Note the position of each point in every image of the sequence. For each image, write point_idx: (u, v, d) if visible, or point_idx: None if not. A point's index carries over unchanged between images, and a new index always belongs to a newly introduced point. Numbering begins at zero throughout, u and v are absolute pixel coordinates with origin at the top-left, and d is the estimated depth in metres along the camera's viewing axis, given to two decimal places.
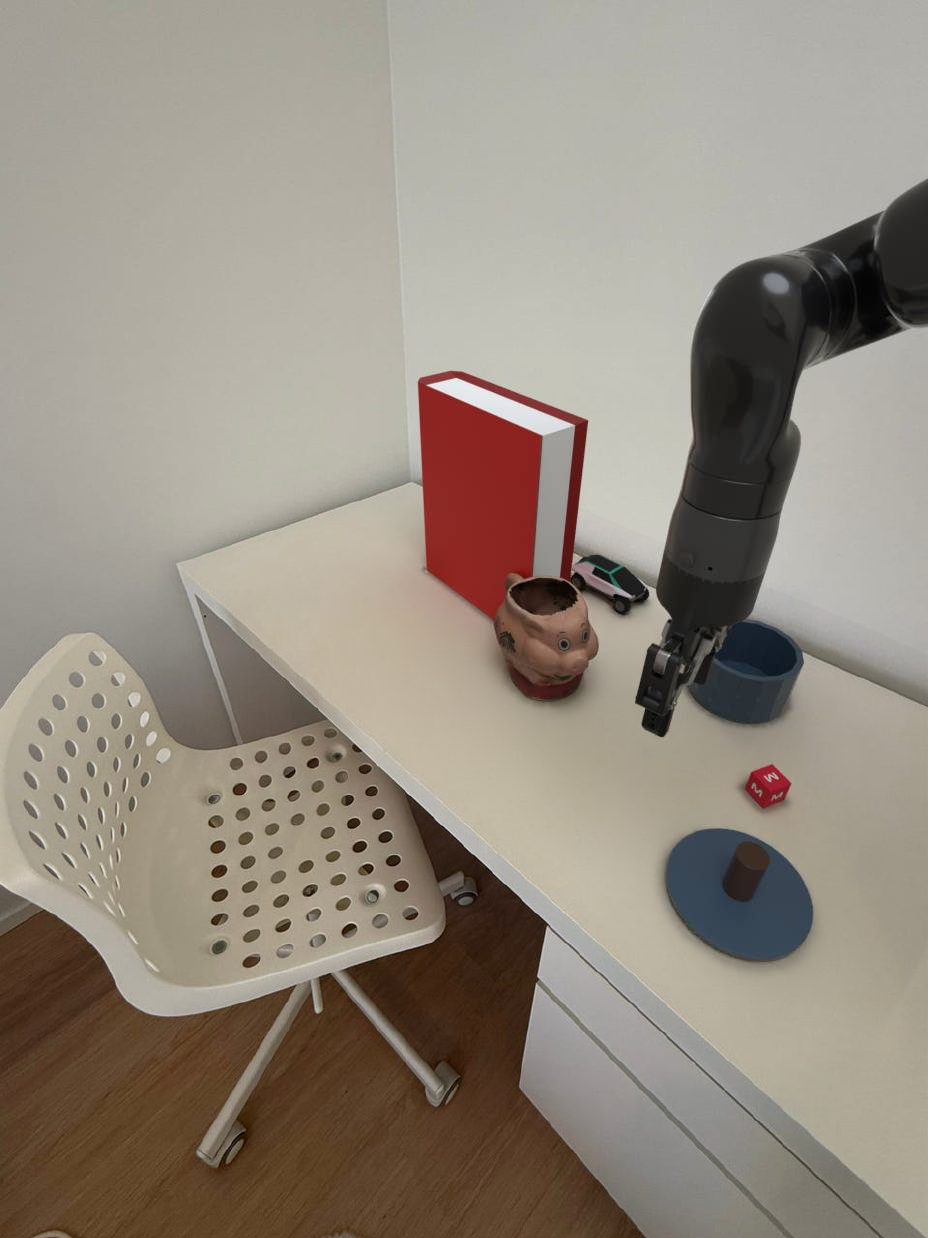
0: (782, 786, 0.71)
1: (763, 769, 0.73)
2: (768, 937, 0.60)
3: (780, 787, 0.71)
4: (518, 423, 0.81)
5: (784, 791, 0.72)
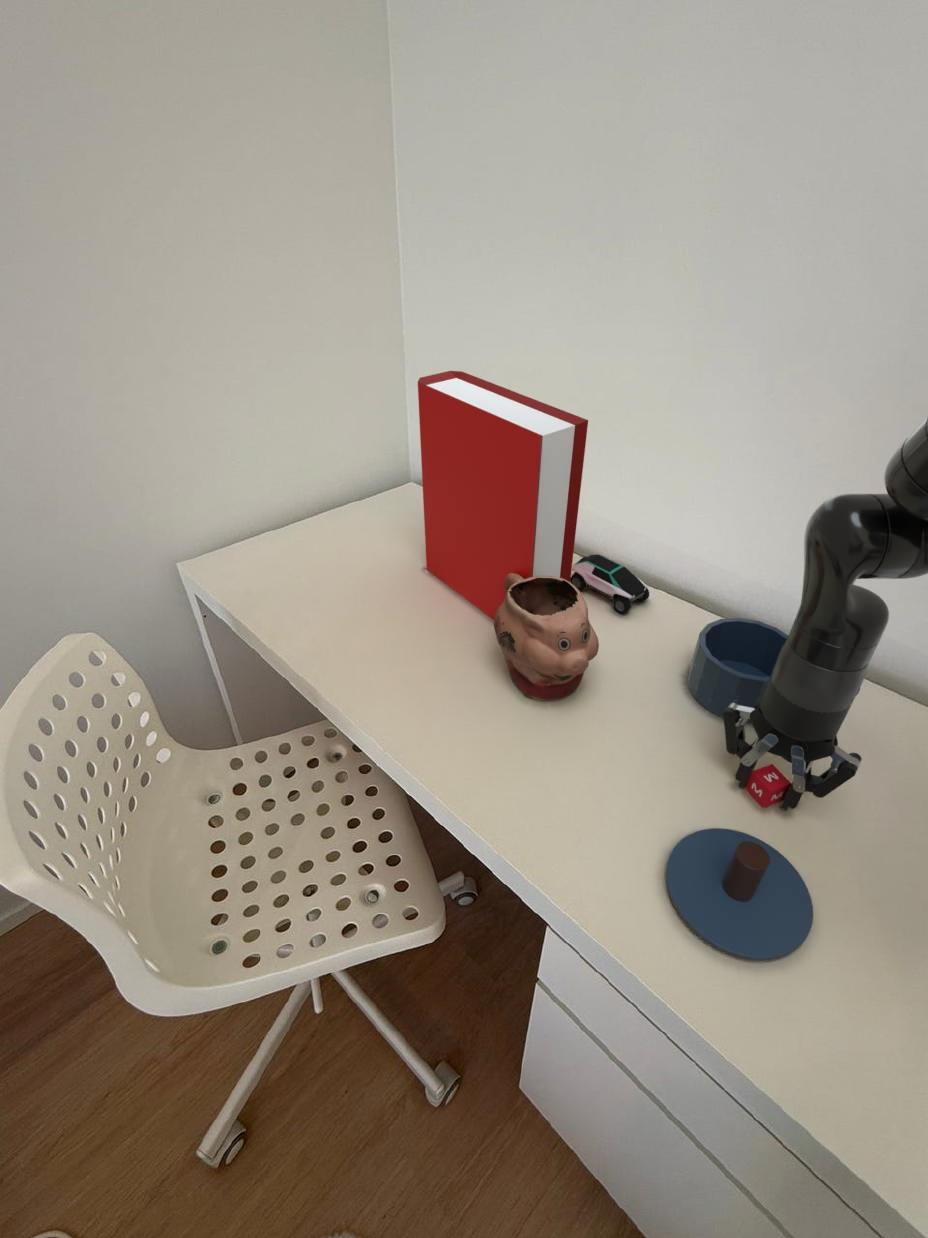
0: (782, 786, 0.71)
1: (763, 769, 0.73)
2: (768, 937, 0.60)
3: (780, 787, 0.71)
4: (518, 423, 0.81)
5: (783, 791, 0.72)
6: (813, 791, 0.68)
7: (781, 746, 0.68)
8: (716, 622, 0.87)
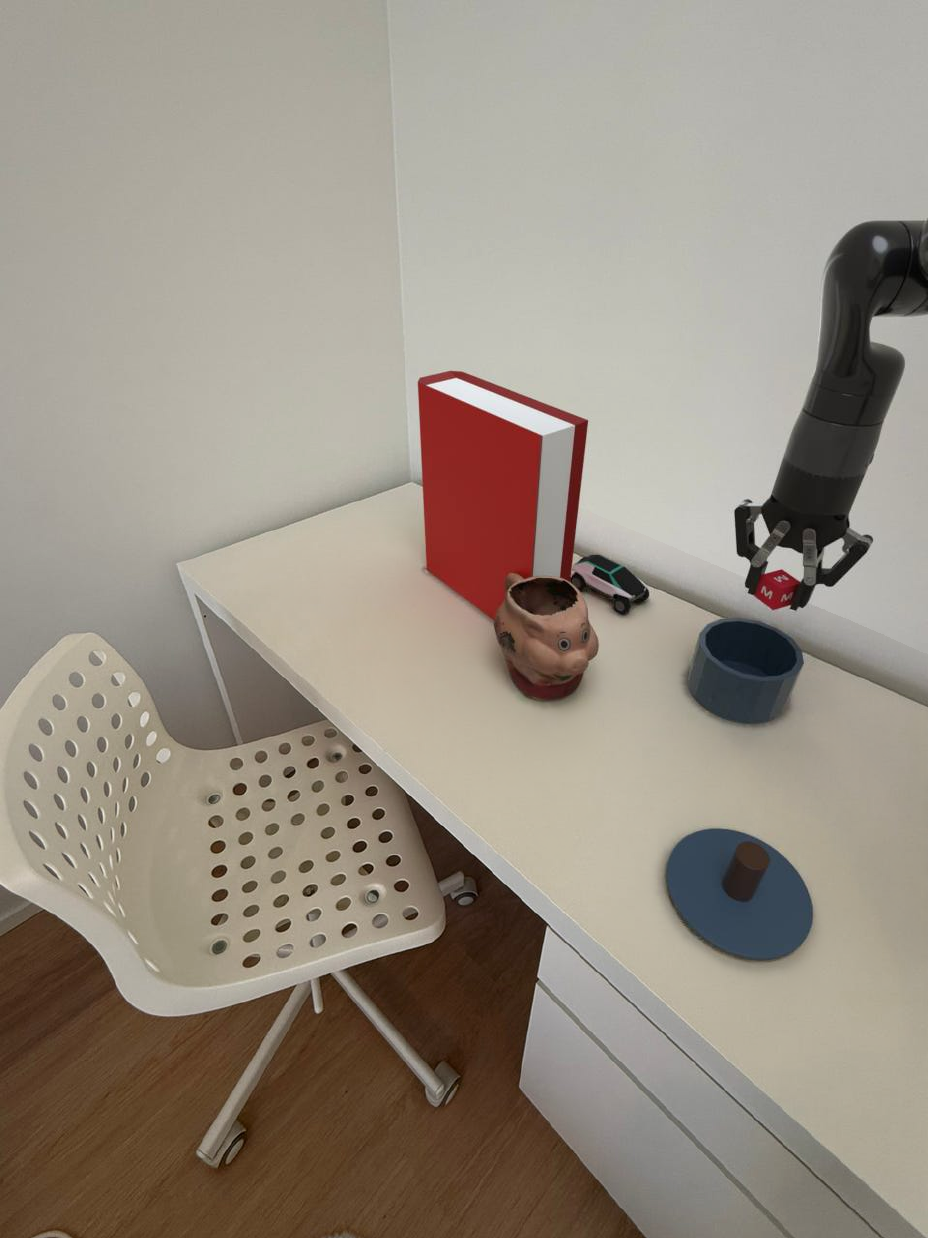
0: (792, 584, 0.71)
1: (773, 572, 0.73)
2: (768, 937, 0.60)
3: (790, 585, 0.71)
4: (518, 423, 0.81)
5: (793, 591, 0.72)
6: (824, 580, 0.68)
7: (792, 536, 0.68)
8: (716, 622, 0.87)
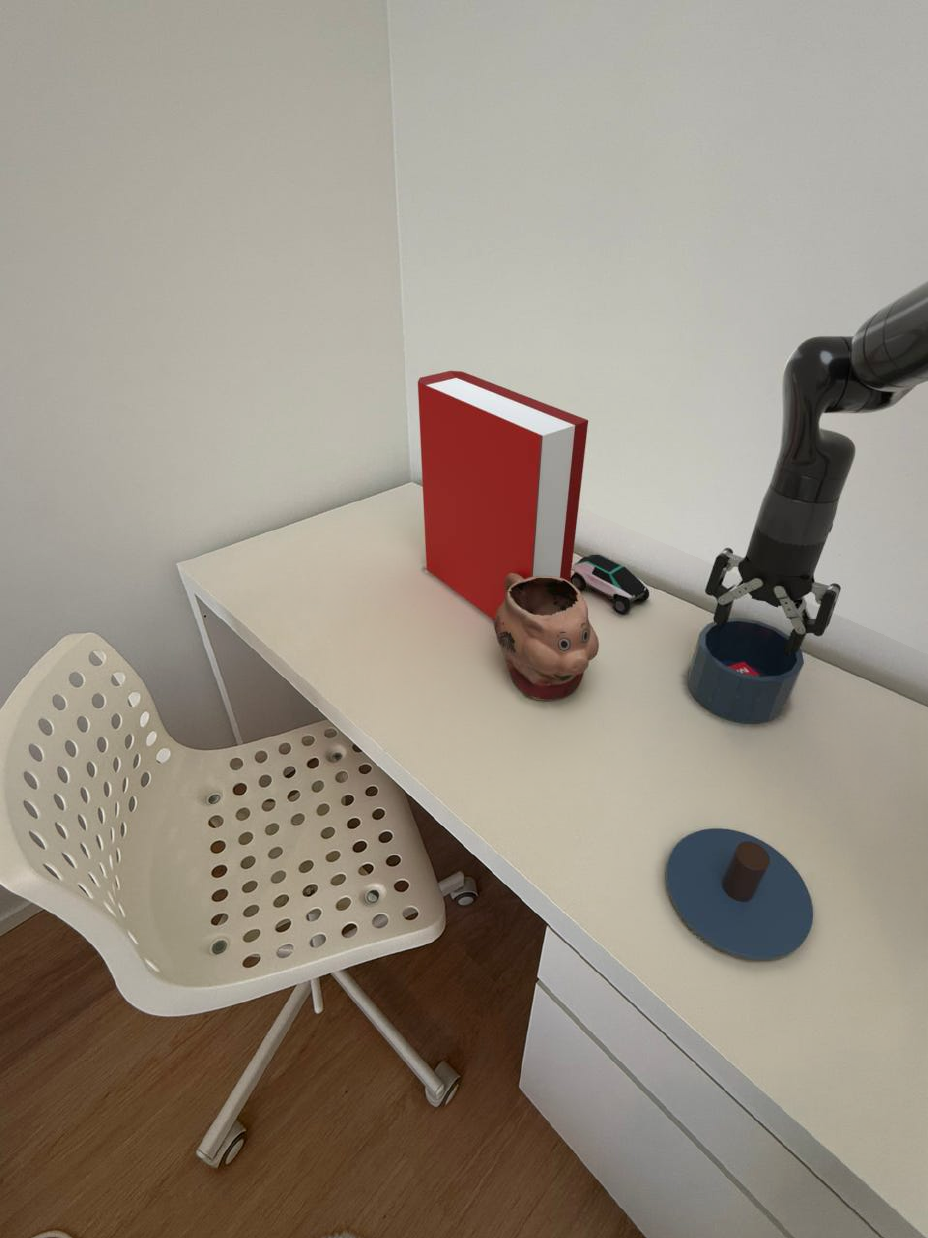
0: None
1: (736, 665, 0.86)
2: (768, 937, 0.60)
3: None
4: (518, 423, 0.81)
5: None
6: (813, 630, 0.75)
7: (765, 591, 0.77)
8: None
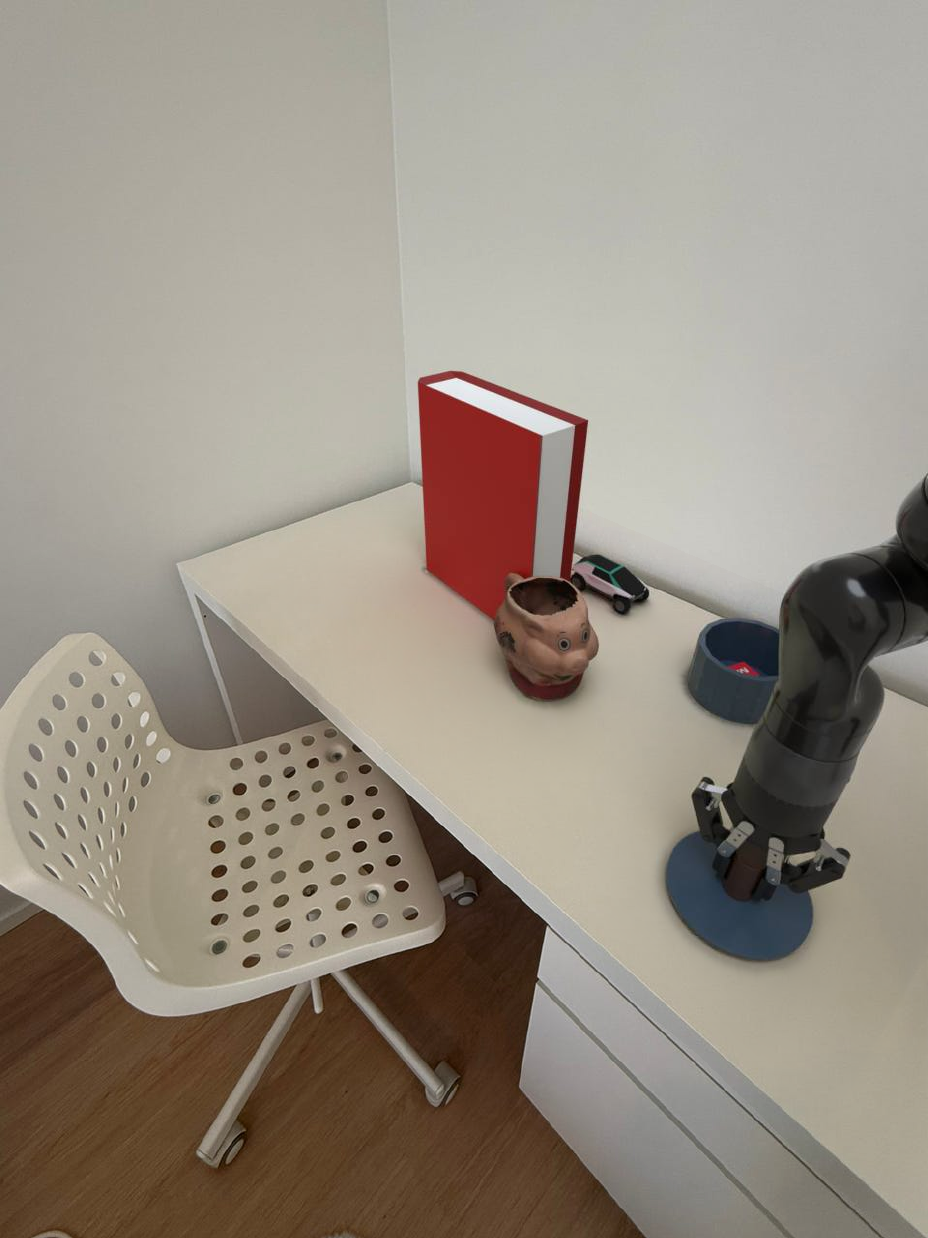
0: None
1: (736, 665, 0.86)
2: (768, 937, 0.60)
3: None
4: (518, 423, 0.81)
5: None
6: (789, 885, 0.58)
7: (758, 835, 0.57)
8: (716, 622, 0.87)
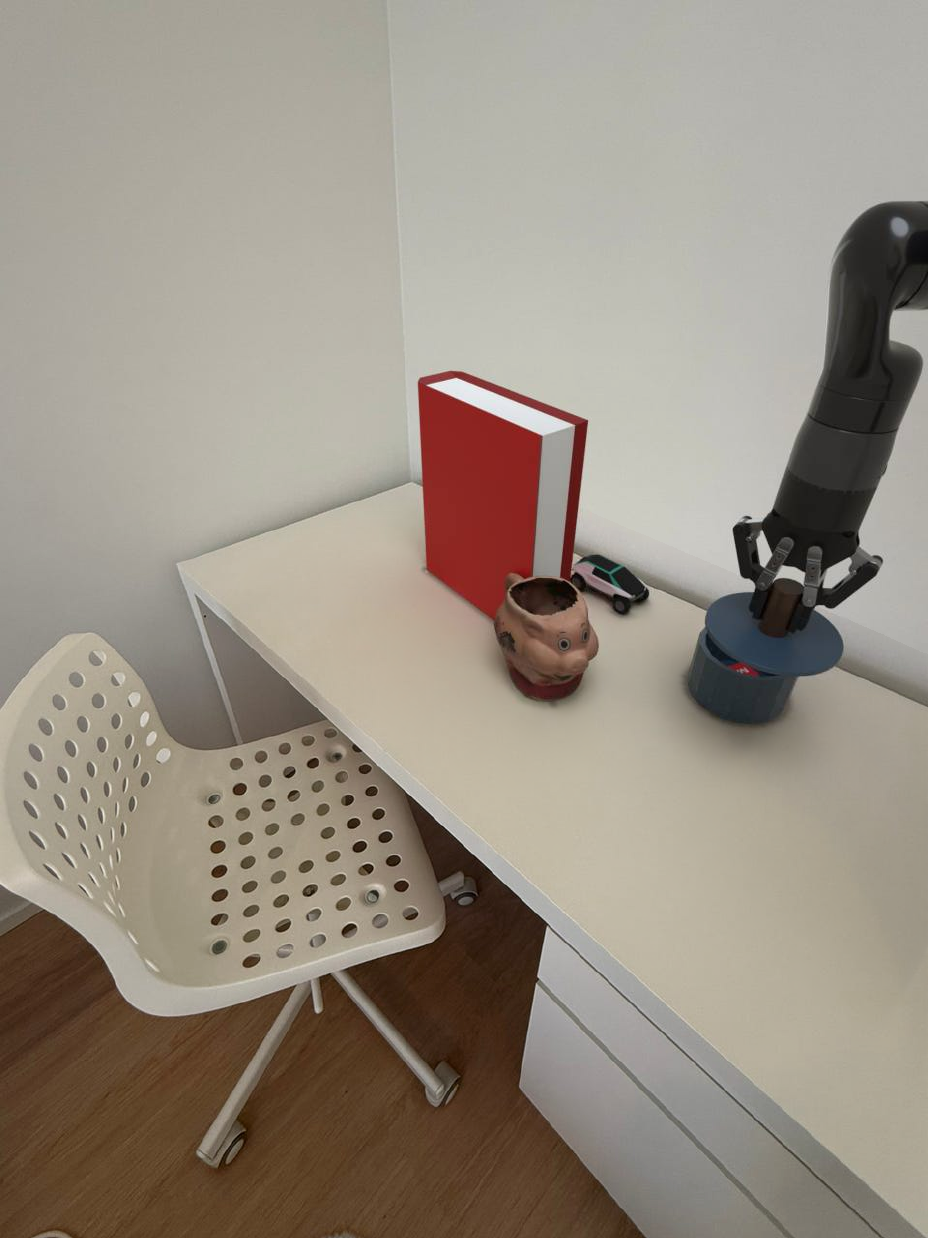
0: None
1: (736, 665, 0.86)
2: (803, 659, 0.64)
3: None
4: (518, 423, 0.81)
5: None
6: (824, 602, 0.62)
7: (796, 553, 0.62)
8: None
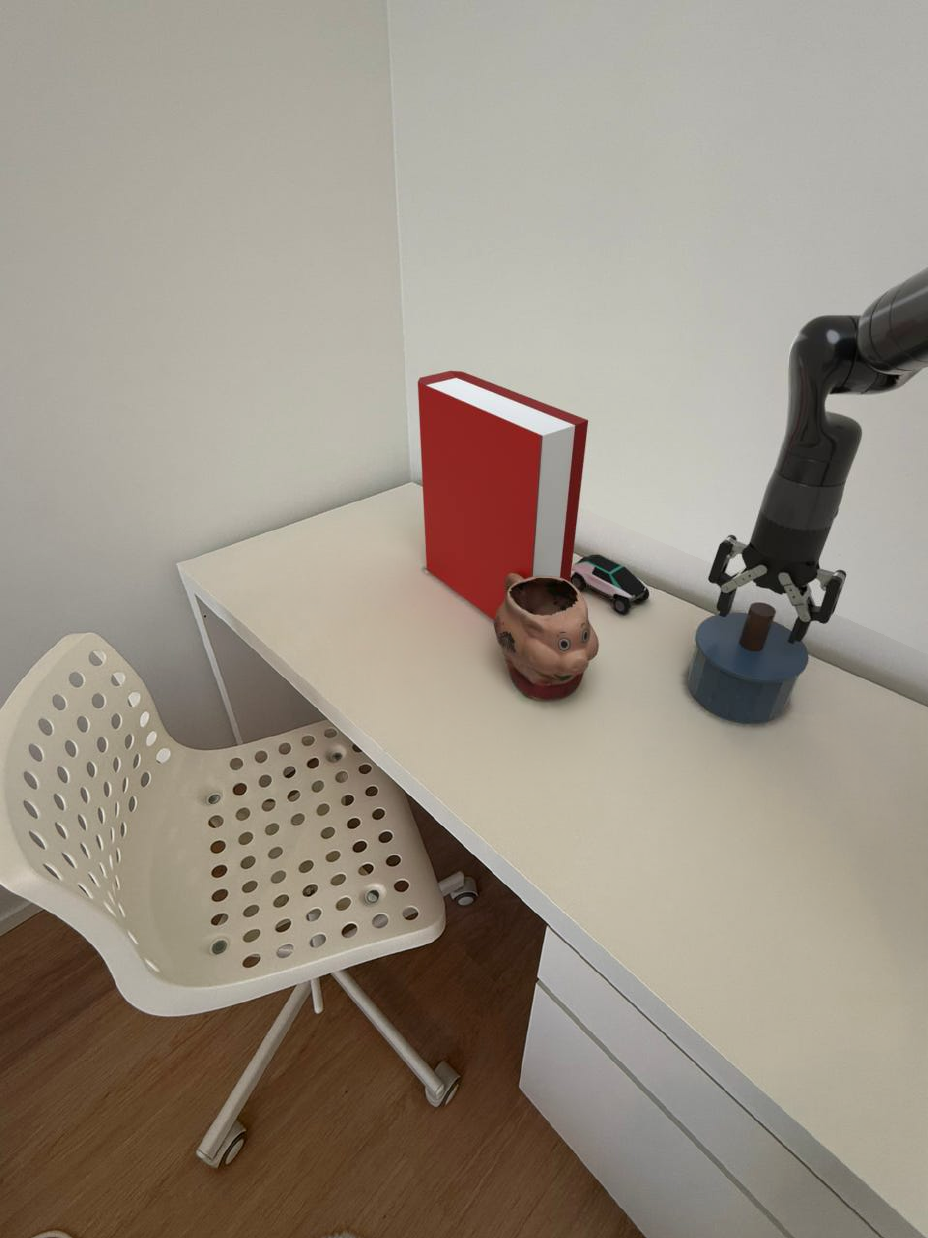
0: None
1: None
2: (774, 669, 0.79)
3: None
4: (518, 423, 0.81)
5: None
6: (818, 618, 0.74)
7: (770, 578, 0.76)
8: None
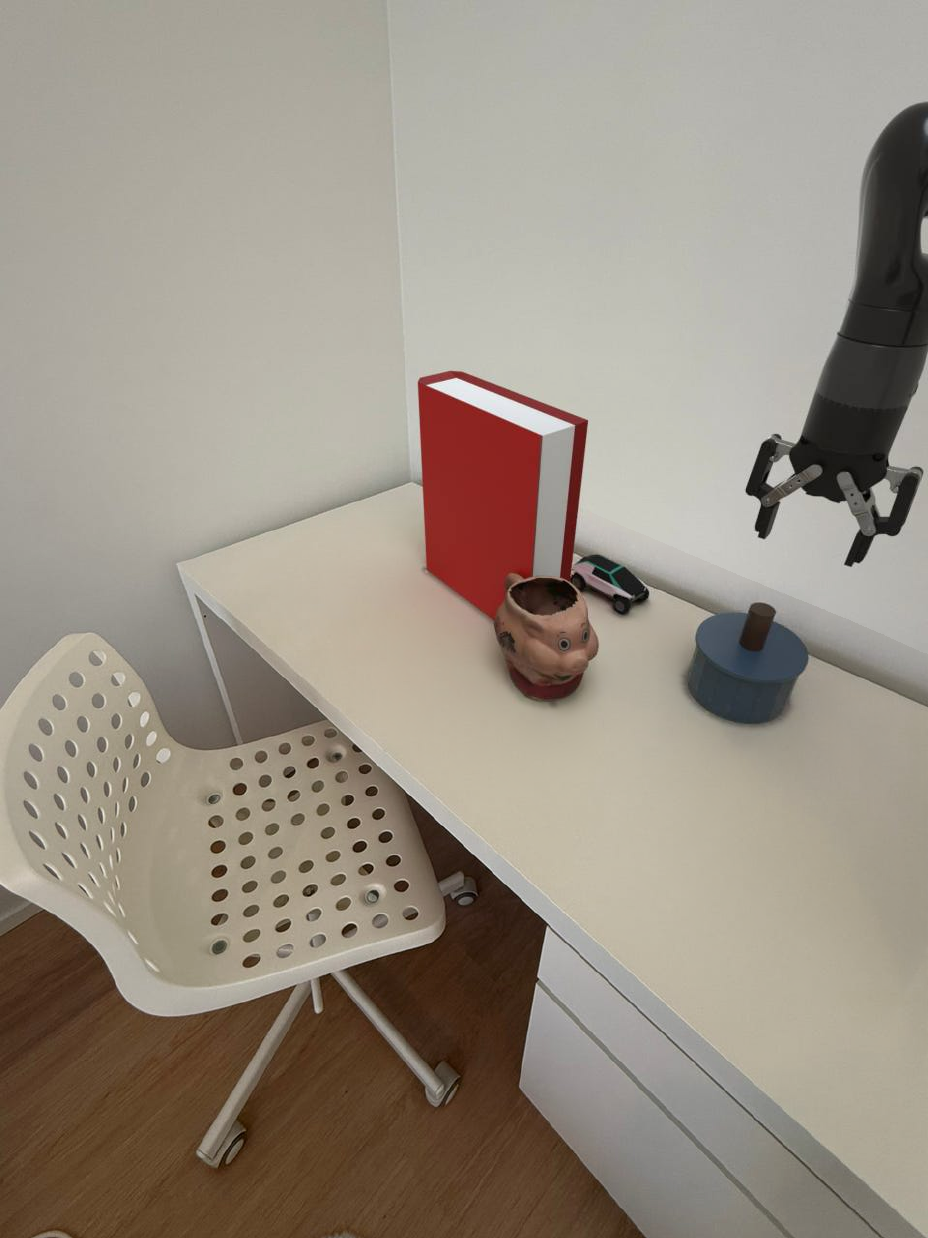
0: None
1: None
2: (774, 669, 0.79)
3: None
4: (518, 423, 0.81)
5: None
6: (886, 529, 0.60)
7: (824, 482, 0.62)
8: None
